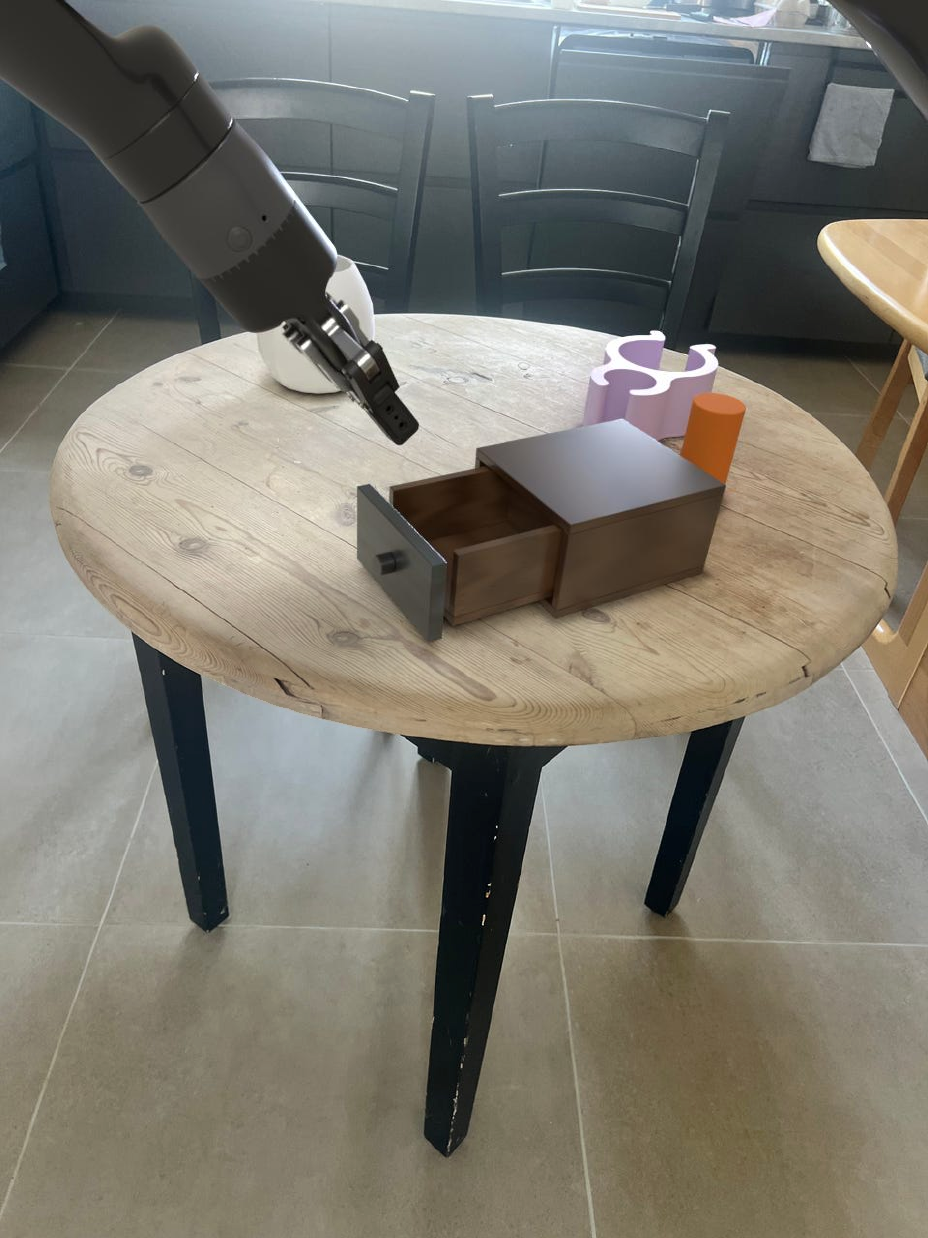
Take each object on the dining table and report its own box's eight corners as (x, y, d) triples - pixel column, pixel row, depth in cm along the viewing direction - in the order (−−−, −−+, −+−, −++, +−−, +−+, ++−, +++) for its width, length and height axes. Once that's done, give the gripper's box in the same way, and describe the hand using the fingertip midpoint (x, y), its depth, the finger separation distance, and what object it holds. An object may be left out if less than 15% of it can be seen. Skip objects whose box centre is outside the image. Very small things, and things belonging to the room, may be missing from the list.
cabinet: (555, 618, 72) (570, 525, 66) (468, 535, 81) (475, 447, 76) (702, 573, 78) (726, 485, 73) (607, 501, 88) (622, 418, 82)
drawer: (413, 647, 66) (417, 570, 62) (343, 562, 74) (342, 488, 70) (586, 595, 73) (599, 522, 69) (504, 522, 81) (511, 453, 77)
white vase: (397, 381, 107) (400, 263, 99) (320, 415, 98) (317, 289, 90) (315, 351, 113) (311, 238, 105) (235, 380, 104) (225, 259, 96)
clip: (659, 468, 94) (673, 406, 90) (552, 434, 98) (561, 373, 94) (721, 407, 108) (736, 350, 104) (625, 380, 113) (635, 325, 108)
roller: (693, 514, 87) (718, 417, 81) (661, 492, 90) (682, 396, 84) (730, 504, 89) (757, 409, 83) (697, 483, 92) (720, 389, 86)
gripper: (328, 197, 48) (490, 425, 59) (253, 173, 57) (404, 373, 69) (224, 295, 47) (407, 505, 59) (167, 254, 57) (333, 441, 69)
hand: (405, 433), depth 64 cm, fingers closed
